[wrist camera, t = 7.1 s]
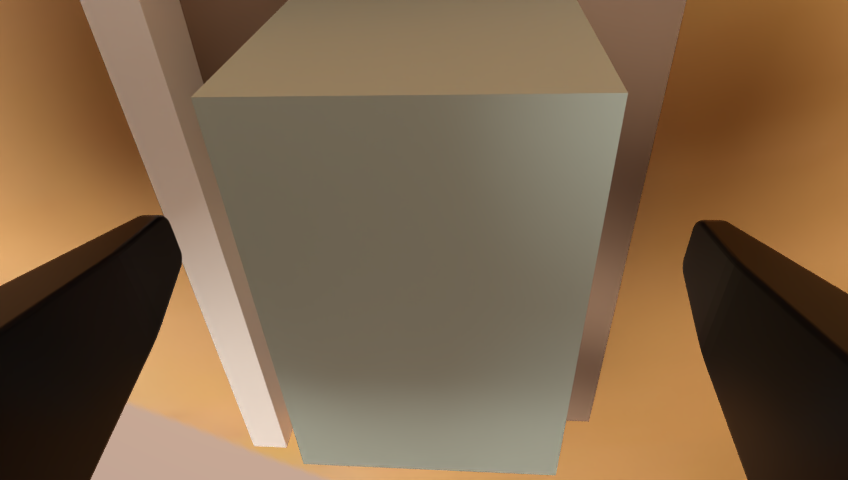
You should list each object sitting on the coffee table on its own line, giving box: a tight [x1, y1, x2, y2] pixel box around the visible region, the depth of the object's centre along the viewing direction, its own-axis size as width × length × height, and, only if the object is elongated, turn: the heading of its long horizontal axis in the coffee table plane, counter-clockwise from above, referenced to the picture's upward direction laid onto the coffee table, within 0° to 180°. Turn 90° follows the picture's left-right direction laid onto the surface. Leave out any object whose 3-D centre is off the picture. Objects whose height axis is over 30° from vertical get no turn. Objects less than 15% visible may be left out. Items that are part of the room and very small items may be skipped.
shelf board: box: [179, 0, 686, 421], centre depth 12 cm, size 18×10×1 cm, turn 2°
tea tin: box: [191, 0, 628, 475], centre depth 10 cm, size 5×7×5 cm, turn 2°
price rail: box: [80, 0, 293, 447], centre depth 12 cm, size 18×1×2 cm, turn 2°
